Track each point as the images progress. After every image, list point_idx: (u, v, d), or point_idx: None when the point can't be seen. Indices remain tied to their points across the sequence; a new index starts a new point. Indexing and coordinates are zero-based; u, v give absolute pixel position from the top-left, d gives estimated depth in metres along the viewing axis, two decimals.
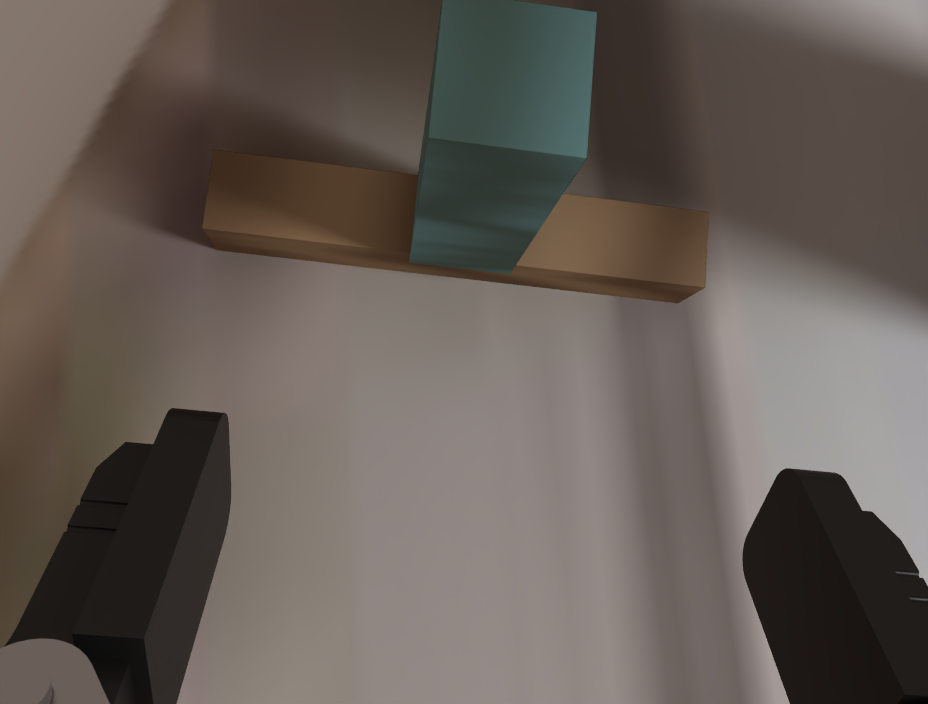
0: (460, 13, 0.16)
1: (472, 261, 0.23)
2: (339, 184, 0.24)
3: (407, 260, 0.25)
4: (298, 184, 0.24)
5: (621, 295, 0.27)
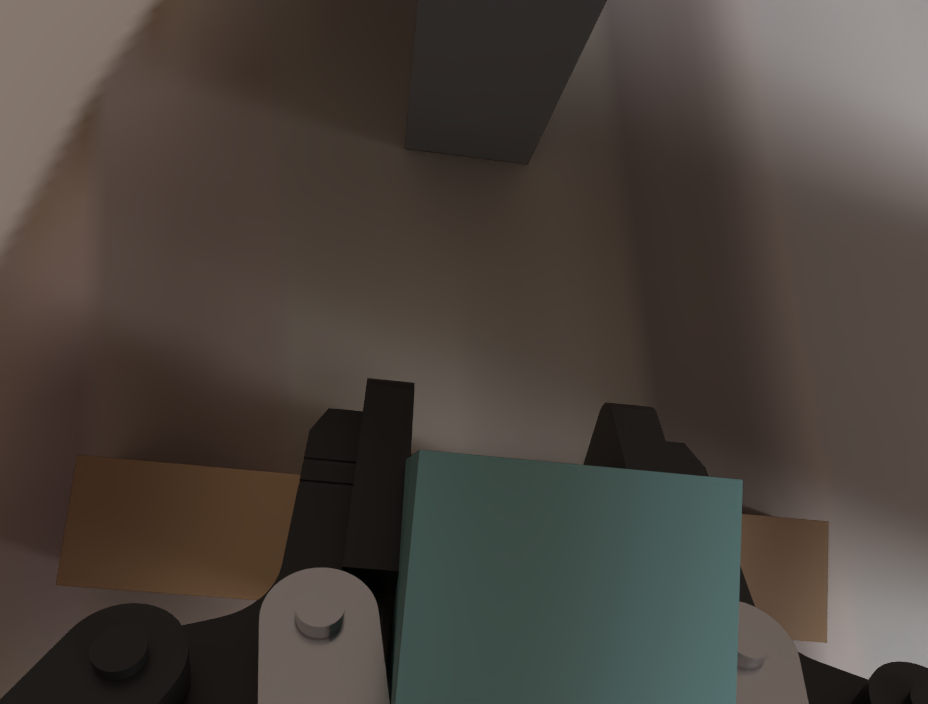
0: (455, 503, 0.07)
1: None
2: (272, 502, 0.16)
3: None
4: (209, 505, 0.16)
5: None
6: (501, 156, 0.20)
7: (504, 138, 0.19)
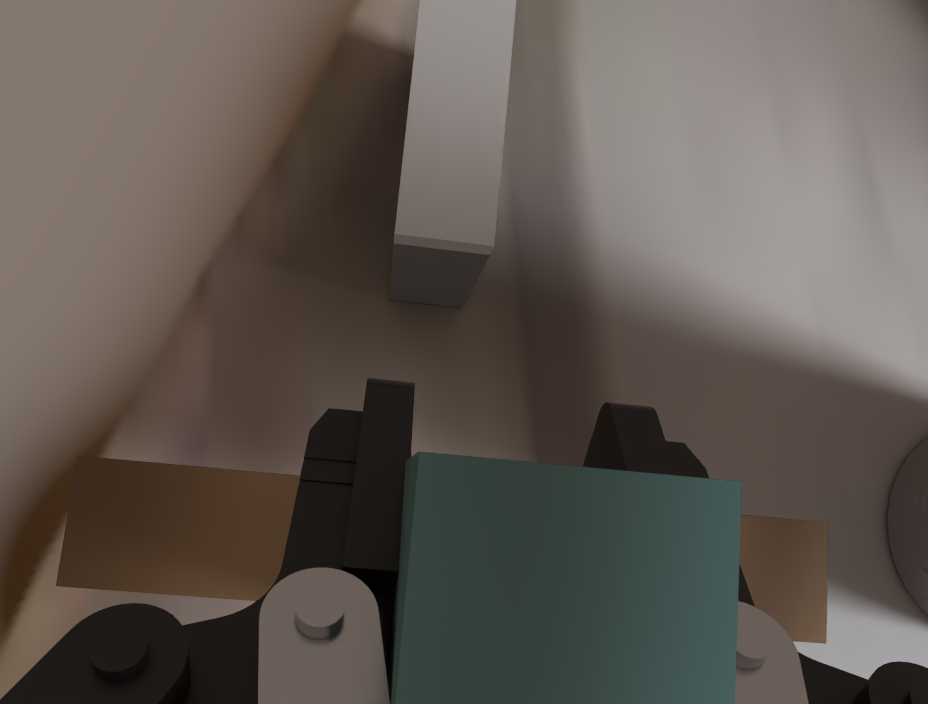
0: (454, 504, 0.07)
1: None
2: (272, 503, 0.16)
3: None
4: (209, 506, 0.16)
5: None
6: (445, 304, 0.33)
7: (445, 299, 0.32)
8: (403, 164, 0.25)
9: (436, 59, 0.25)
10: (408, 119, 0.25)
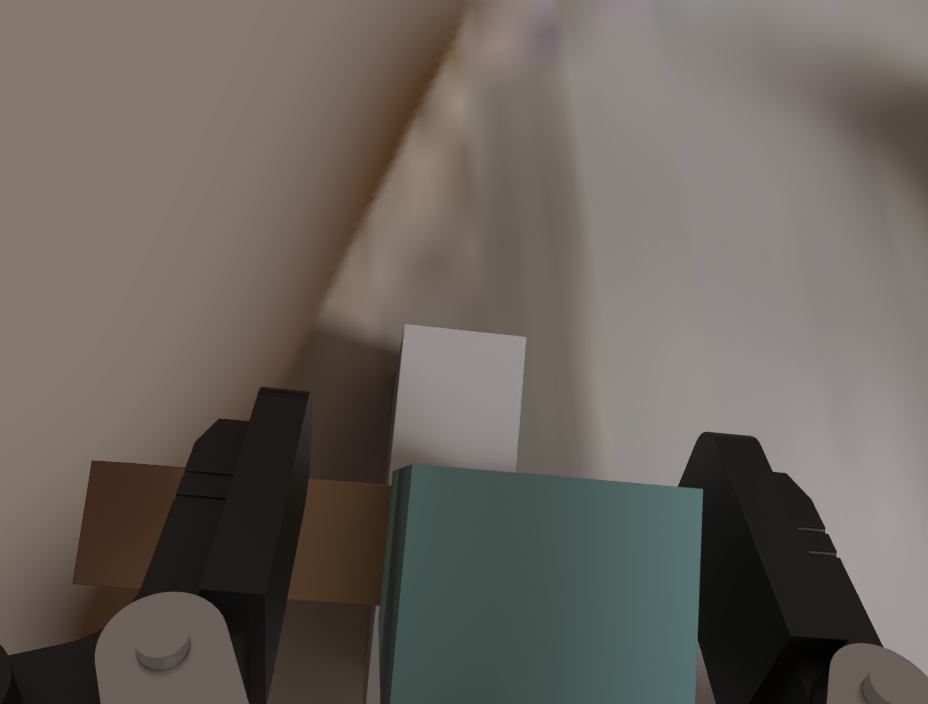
0: (444, 511, 0.08)
1: None
2: None
3: None
4: None
5: None
6: None
7: None
8: (372, 659, 0.19)
9: None
10: None
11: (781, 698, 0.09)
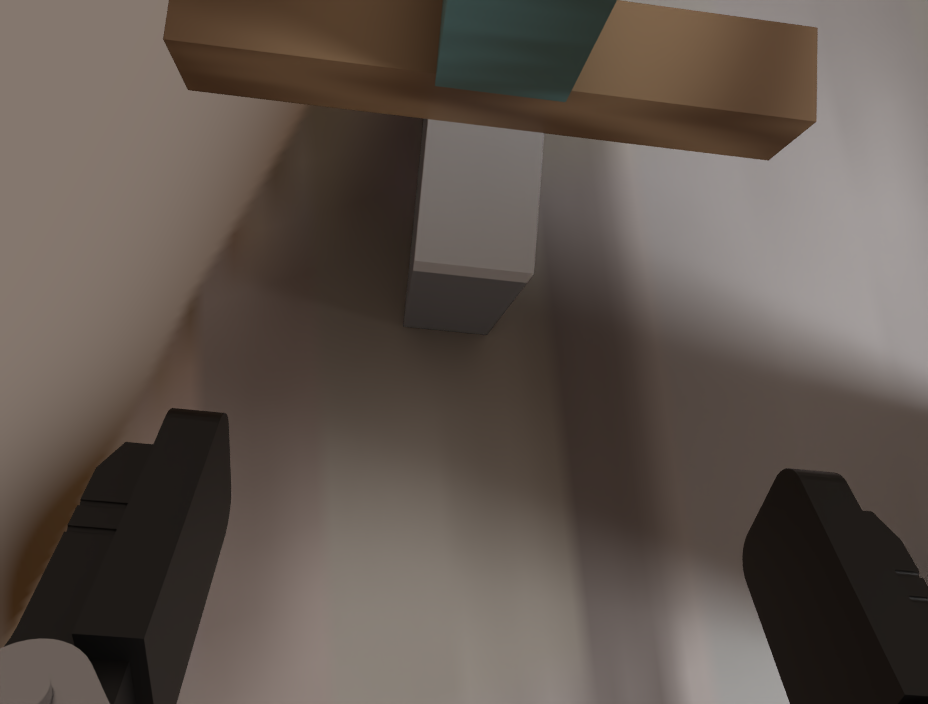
0: None
1: (519, 76, 0.18)
2: None
3: (431, 91, 0.19)
4: None
5: (700, 147, 0.21)
6: (468, 332, 0.29)
7: (469, 326, 0.28)
8: (424, 177, 0.21)
9: None
10: (429, 123, 0.21)
11: None
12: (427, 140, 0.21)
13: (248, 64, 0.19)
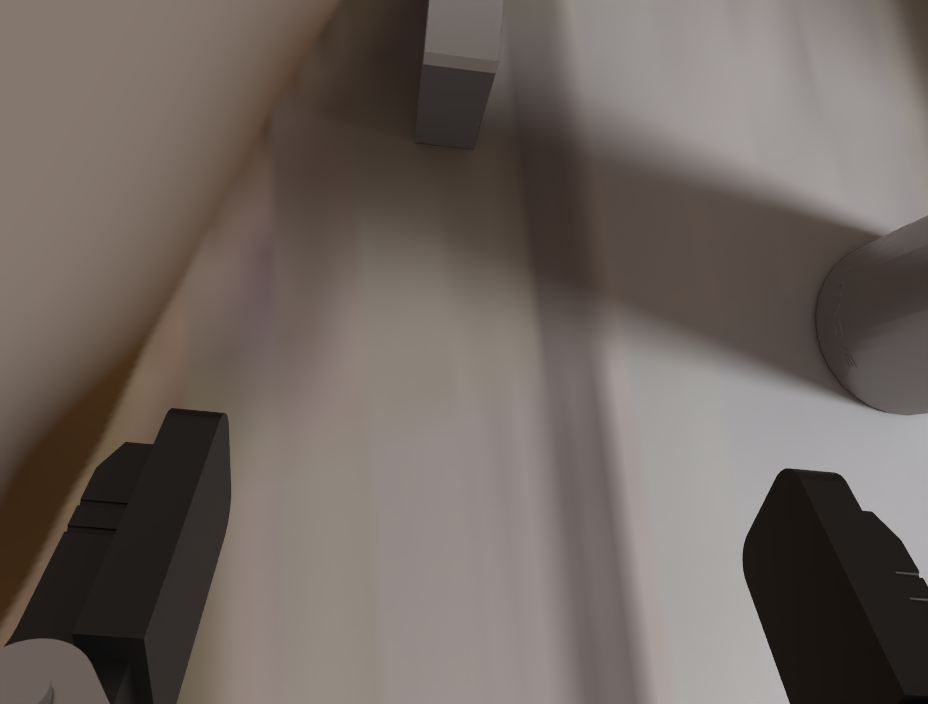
0: None
1: None
2: None
3: None
4: None
5: None
6: (460, 146, 0.41)
7: (460, 137, 0.40)
8: (430, 1, 0.33)
9: None
10: None
11: None
12: None
13: None
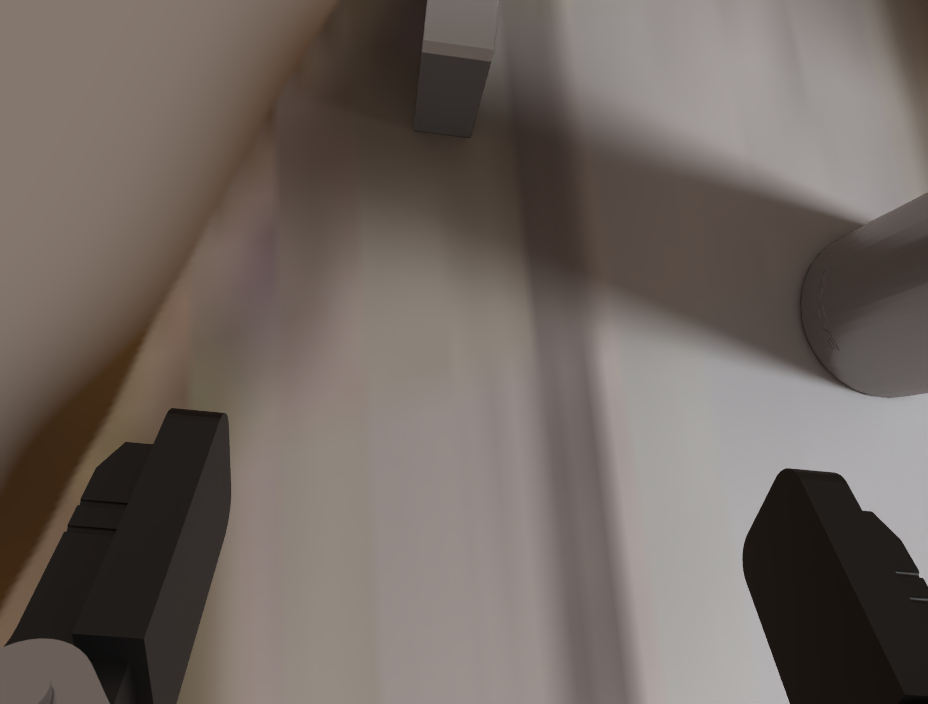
0: None
1: None
2: None
3: None
4: None
5: None
6: (457, 134, 0.43)
7: (457, 125, 0.42)
8: None
9: None
10: None
11: None
12: None
13: None
